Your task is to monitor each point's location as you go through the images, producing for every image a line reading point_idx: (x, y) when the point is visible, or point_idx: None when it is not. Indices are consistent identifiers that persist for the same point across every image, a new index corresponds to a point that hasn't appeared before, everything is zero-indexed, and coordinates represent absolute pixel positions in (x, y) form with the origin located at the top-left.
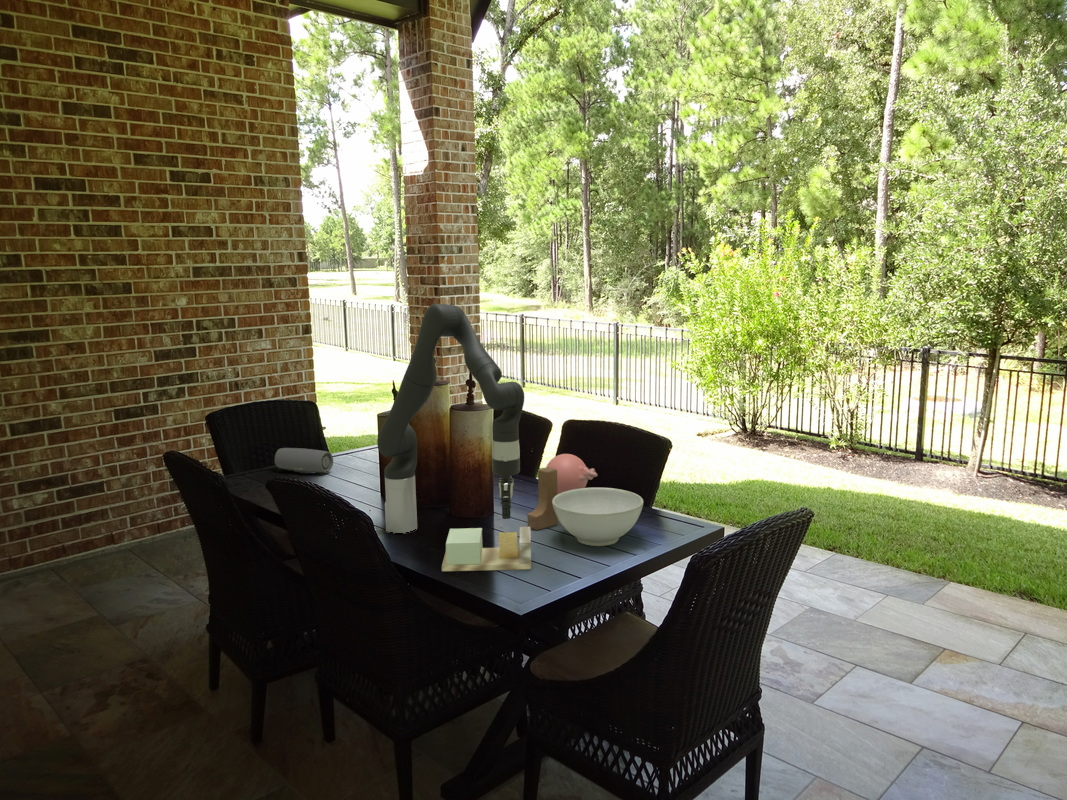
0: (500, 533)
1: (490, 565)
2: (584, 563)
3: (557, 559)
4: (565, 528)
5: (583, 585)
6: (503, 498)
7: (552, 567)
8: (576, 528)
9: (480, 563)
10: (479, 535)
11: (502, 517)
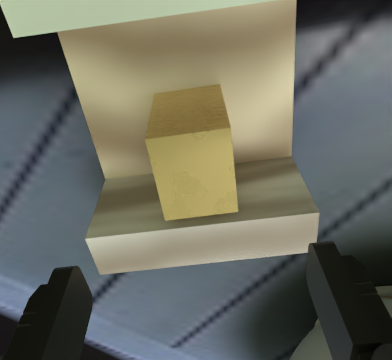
0: (215, 137)
1: (68, 65)
2: (186, 309)
3: None
4: None
5: None
6: (342, 323)
7: None
8: (303, 356)
9: None
10: (159, 7)
11: (54, 272)
